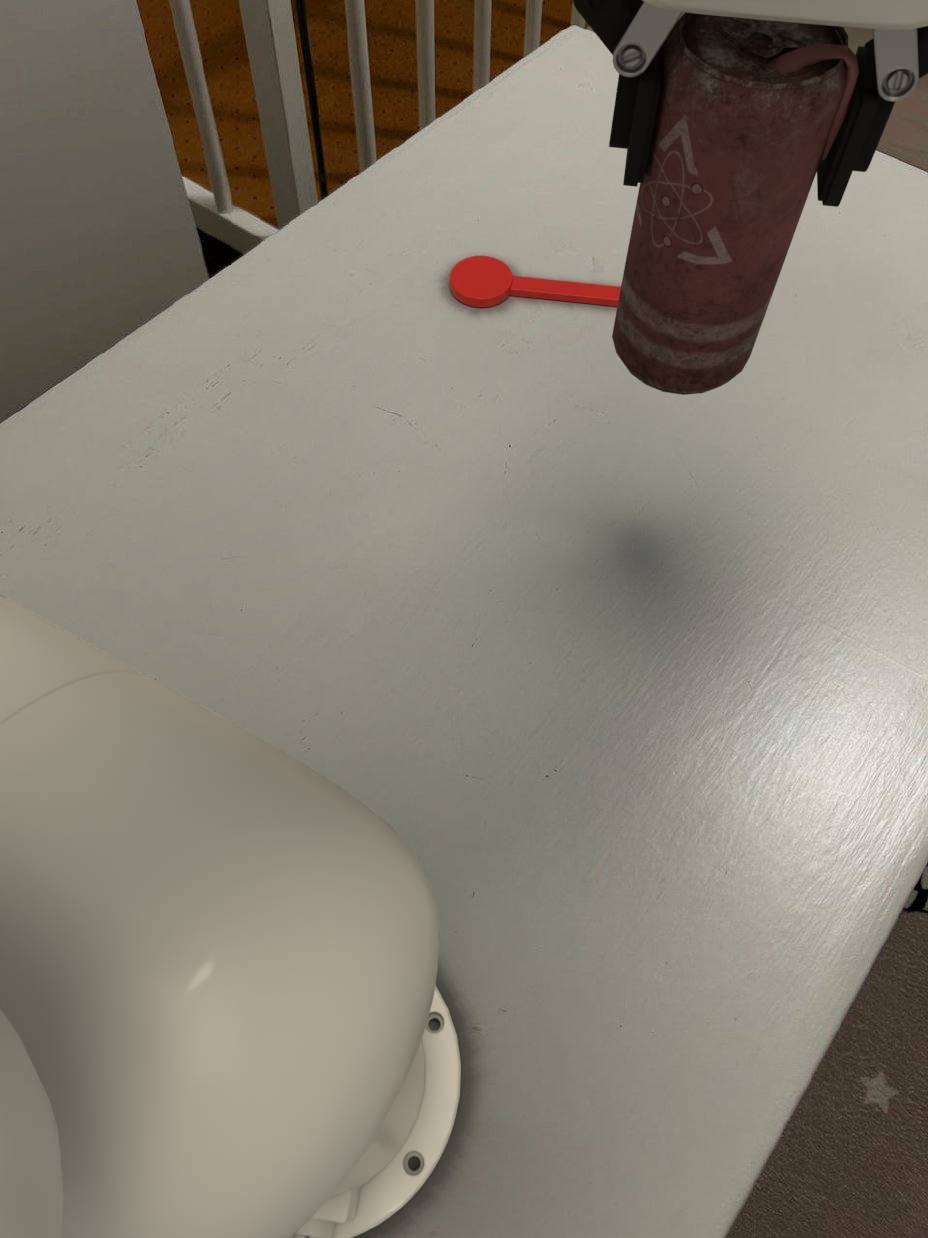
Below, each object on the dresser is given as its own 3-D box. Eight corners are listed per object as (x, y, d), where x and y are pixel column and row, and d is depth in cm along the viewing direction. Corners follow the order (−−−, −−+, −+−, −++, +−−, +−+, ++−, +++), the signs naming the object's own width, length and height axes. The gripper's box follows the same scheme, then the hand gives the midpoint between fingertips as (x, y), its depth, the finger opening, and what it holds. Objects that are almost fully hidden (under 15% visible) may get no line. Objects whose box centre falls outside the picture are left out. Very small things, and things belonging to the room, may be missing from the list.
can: (748, 411, 42) (868, 99, 29) (601, 387, 42) (659, 72, 30) (758, 312, 45) (871, -10, 32) (620, 291, 45) (680, -33, 33)
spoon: (696, 285, 68) (698, 276, 68) (694, 330, 66) (697, 321, 65) (454, 261, 69) (454, 252, 69) (445, 304, 67) (445, 295, 67)
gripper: (496, -572, 19) (482, 215, 35) (1445, -533, 18) (982, 267, 33) (541, -659, 22) (509, 89, 38) (1330, -632, 21) (962, 131, 37)
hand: (730, 167), depth 36 cm, fingers closed on can, 6 cm apart
